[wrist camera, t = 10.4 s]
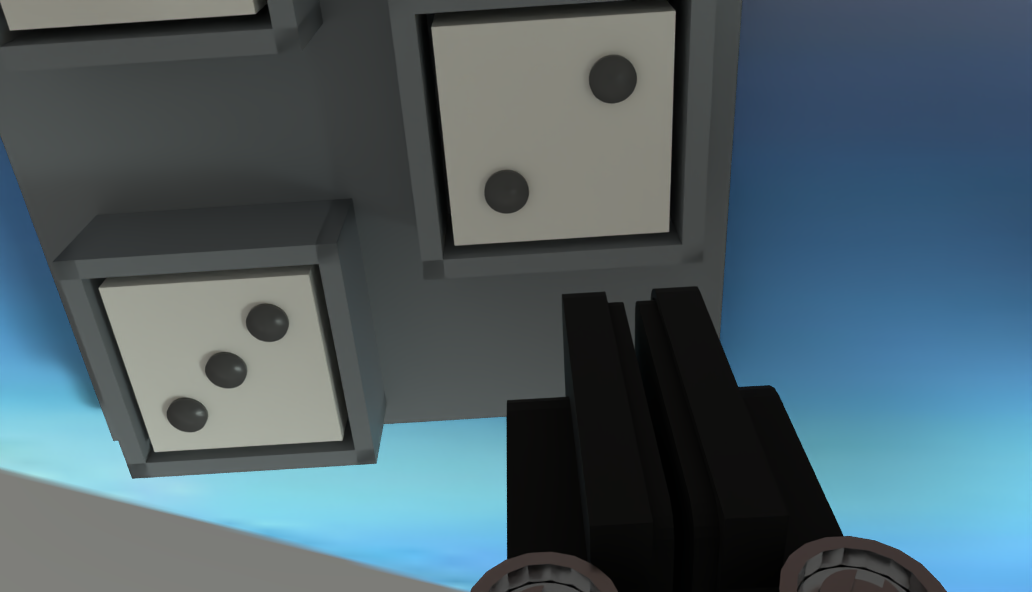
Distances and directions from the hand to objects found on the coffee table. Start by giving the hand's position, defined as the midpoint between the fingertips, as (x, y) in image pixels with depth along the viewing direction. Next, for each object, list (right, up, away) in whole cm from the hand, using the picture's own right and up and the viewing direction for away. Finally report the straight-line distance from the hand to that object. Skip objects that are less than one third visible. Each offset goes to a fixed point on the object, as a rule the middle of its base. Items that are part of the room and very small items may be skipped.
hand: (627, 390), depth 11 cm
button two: (0, +6, +10) cm, 11 cm away
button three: (-9, 0, +13) cm, 15 cm away
